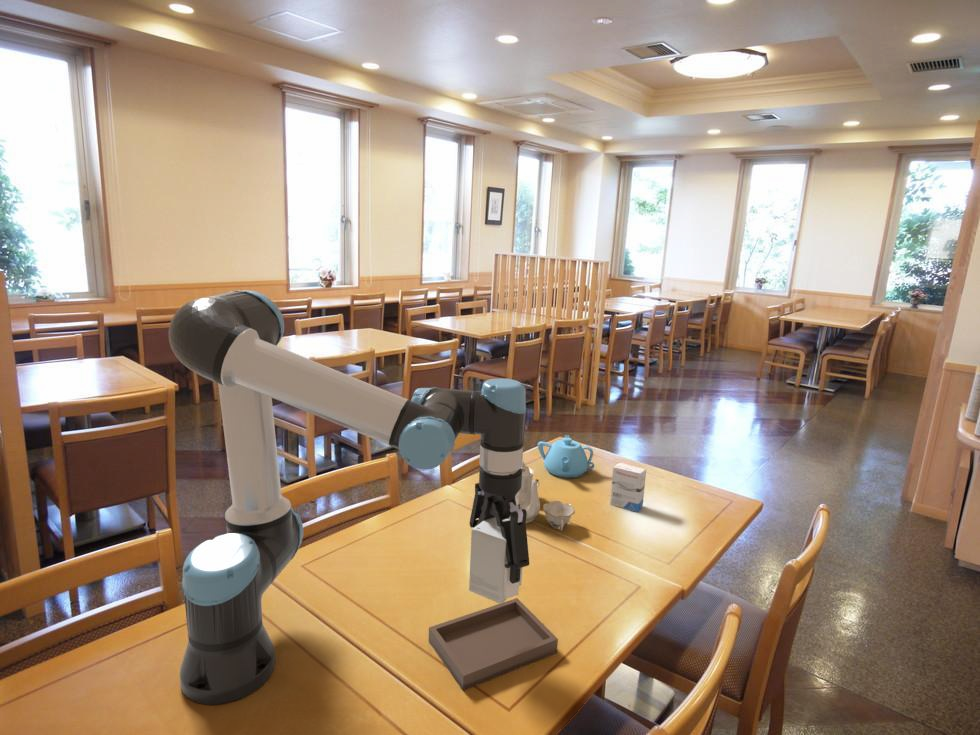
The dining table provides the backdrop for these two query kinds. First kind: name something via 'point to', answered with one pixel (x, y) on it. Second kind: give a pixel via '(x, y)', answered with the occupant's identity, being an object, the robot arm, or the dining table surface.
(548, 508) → the chinaware
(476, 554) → the supplement box
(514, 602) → the tray
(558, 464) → the teapot
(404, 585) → the dining table surface
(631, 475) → the ink box
